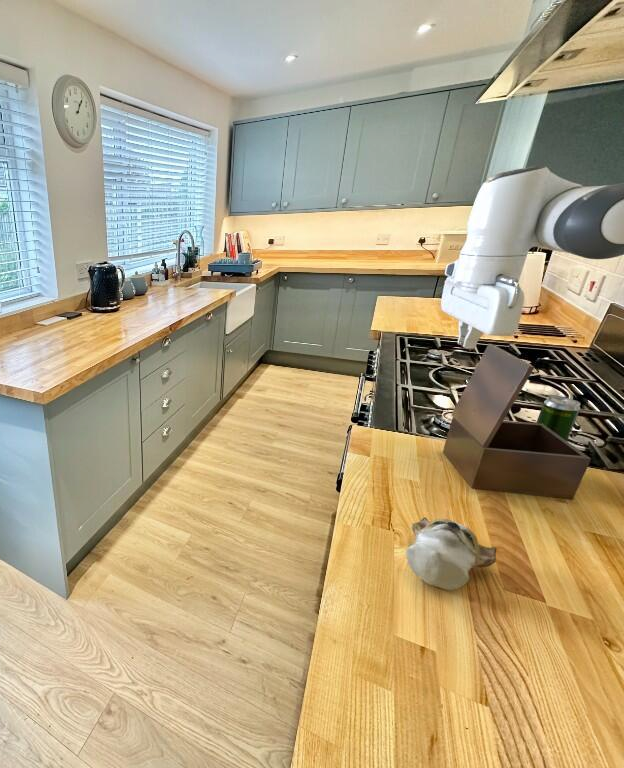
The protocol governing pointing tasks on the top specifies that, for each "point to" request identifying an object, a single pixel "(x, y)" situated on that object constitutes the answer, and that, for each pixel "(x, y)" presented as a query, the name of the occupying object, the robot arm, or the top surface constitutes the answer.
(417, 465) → the top surface
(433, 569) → the ceramic sculpture
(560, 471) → the keepsake box
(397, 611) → the top surface
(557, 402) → the beer can
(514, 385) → the box lid
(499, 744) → the top surface
